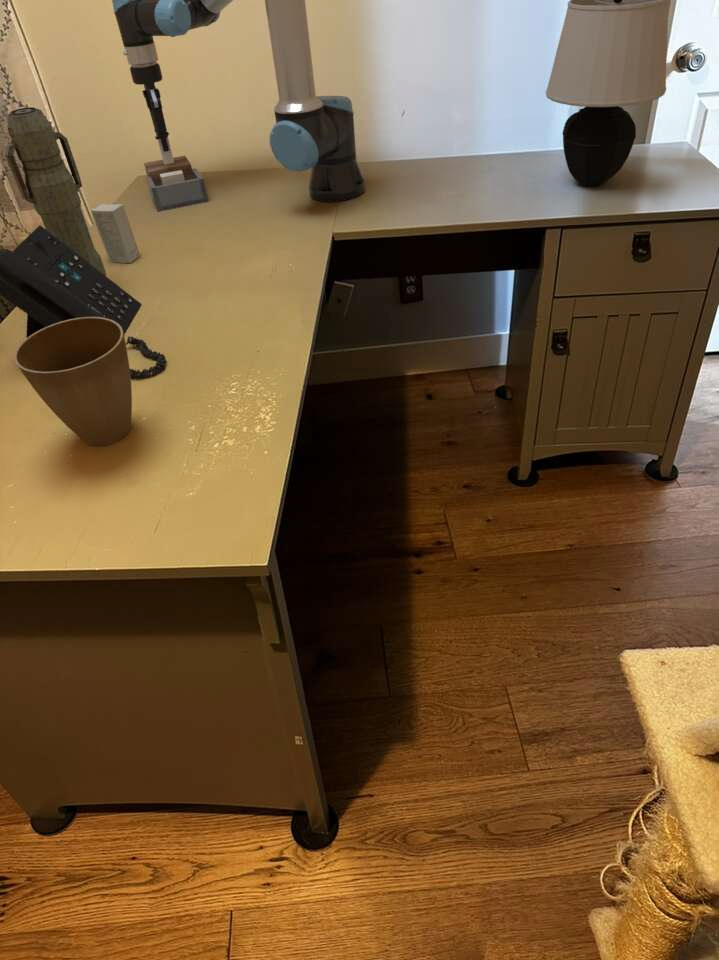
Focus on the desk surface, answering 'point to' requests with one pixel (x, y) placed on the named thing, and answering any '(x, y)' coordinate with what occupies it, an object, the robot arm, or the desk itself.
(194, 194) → the box
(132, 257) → the skincare box
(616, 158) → the table lamp
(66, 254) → the office phone
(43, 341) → the plant pot
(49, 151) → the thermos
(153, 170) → the brown block
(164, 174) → the cream tile
